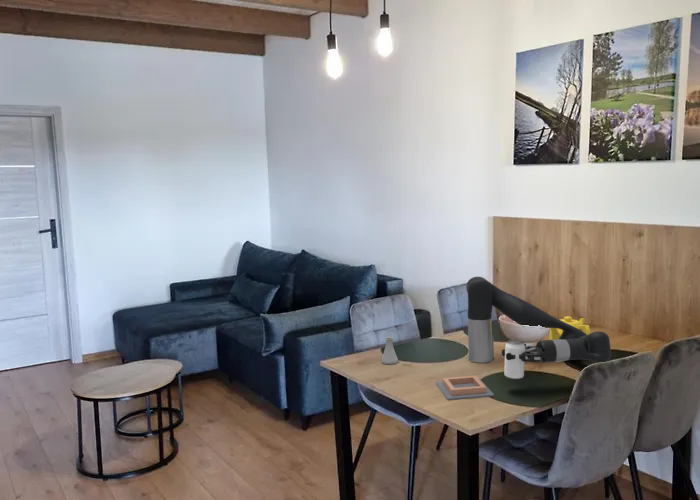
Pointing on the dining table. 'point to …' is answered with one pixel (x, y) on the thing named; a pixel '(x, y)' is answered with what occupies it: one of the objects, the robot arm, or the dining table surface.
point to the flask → (389, 353)
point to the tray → (463, 388)
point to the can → (514, 366)
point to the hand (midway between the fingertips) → (504, 354)
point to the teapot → (556, 332)
